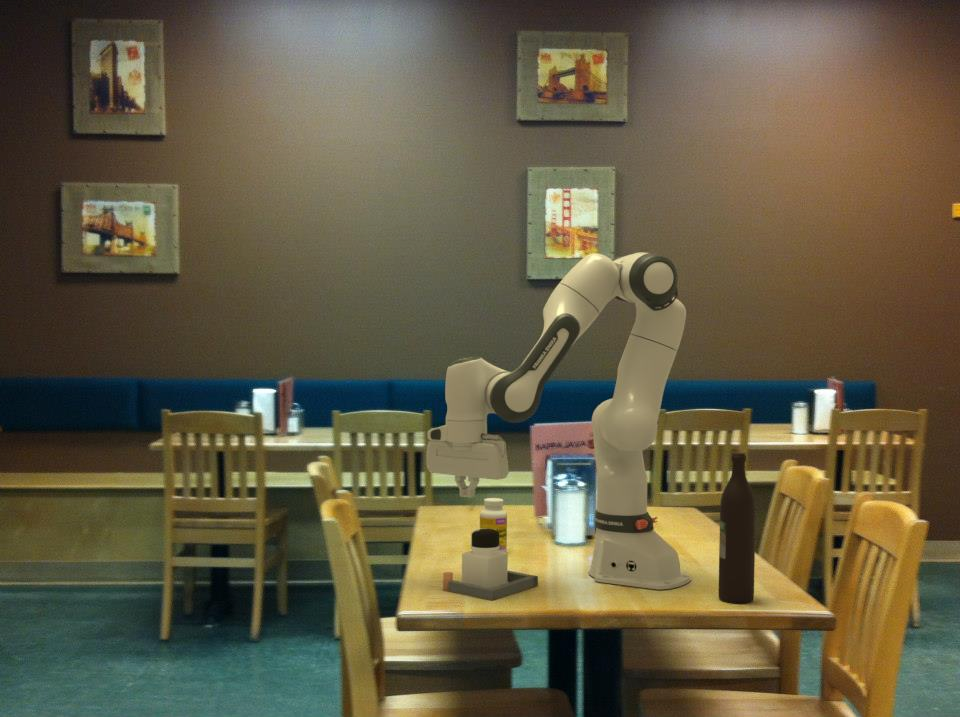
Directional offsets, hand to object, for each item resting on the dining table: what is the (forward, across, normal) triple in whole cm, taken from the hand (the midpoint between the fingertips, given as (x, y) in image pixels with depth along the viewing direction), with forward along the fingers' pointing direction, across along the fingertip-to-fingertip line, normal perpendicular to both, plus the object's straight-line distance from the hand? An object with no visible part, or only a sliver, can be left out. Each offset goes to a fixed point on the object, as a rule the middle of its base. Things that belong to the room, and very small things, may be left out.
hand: (467, 496), depth 232 cm
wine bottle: (+20, -50, -24) cm, 60 cm away
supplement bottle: (+19, +14, -27) cm, 36 cm away
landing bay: (+19, -7, +1) cm, 20 cm away
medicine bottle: (+19, -4, 0) cm, 19 cm away
